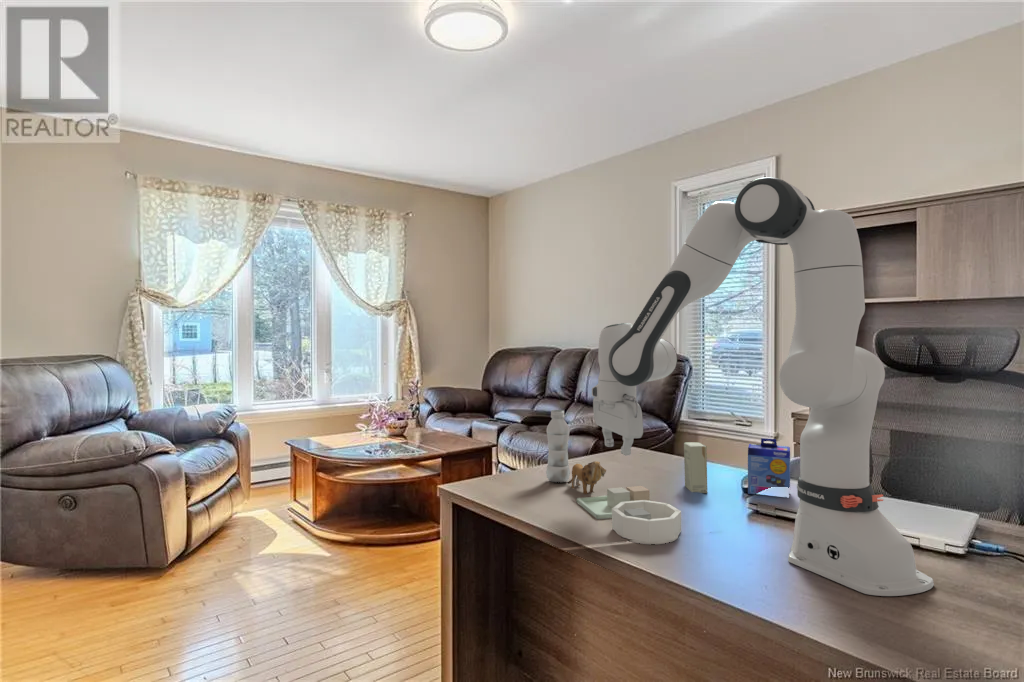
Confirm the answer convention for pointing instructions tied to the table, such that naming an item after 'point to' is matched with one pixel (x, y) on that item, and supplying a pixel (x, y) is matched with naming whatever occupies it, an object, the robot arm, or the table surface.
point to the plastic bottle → (558, 448)
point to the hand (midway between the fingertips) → (617, 450)
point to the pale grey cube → (617, 496)
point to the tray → (596, 506)
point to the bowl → (647, 522)
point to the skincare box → (695, 466)
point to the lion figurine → (587, 475)
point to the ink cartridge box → (768, 466)
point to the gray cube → (637, 513)
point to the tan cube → (638, 493)
